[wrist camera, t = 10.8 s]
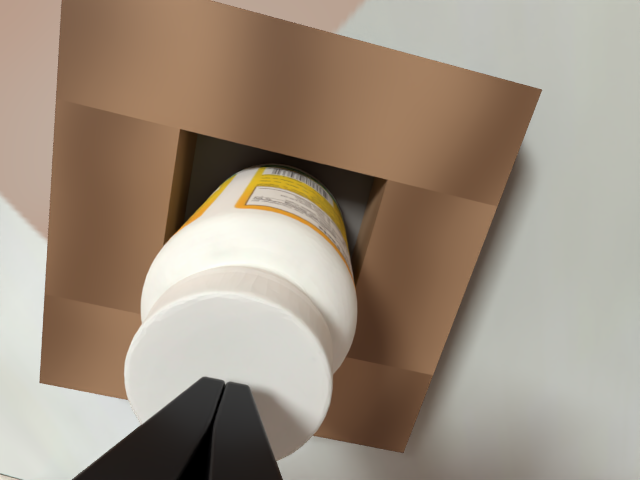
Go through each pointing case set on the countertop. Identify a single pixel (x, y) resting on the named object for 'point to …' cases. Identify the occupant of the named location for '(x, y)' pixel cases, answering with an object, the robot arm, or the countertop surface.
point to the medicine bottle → (6, 478)
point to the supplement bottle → (251, 303)
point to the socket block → (269, 148)
